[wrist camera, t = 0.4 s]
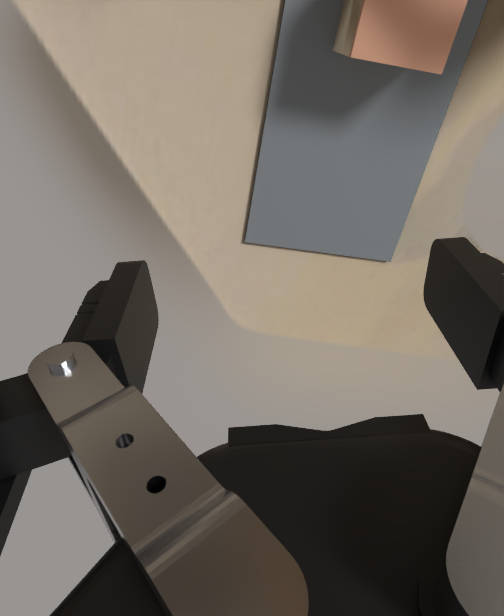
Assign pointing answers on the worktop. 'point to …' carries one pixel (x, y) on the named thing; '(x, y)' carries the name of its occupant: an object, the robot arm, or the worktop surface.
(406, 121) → the slate mat
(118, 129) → the worktop surface
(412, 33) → the birch cube
